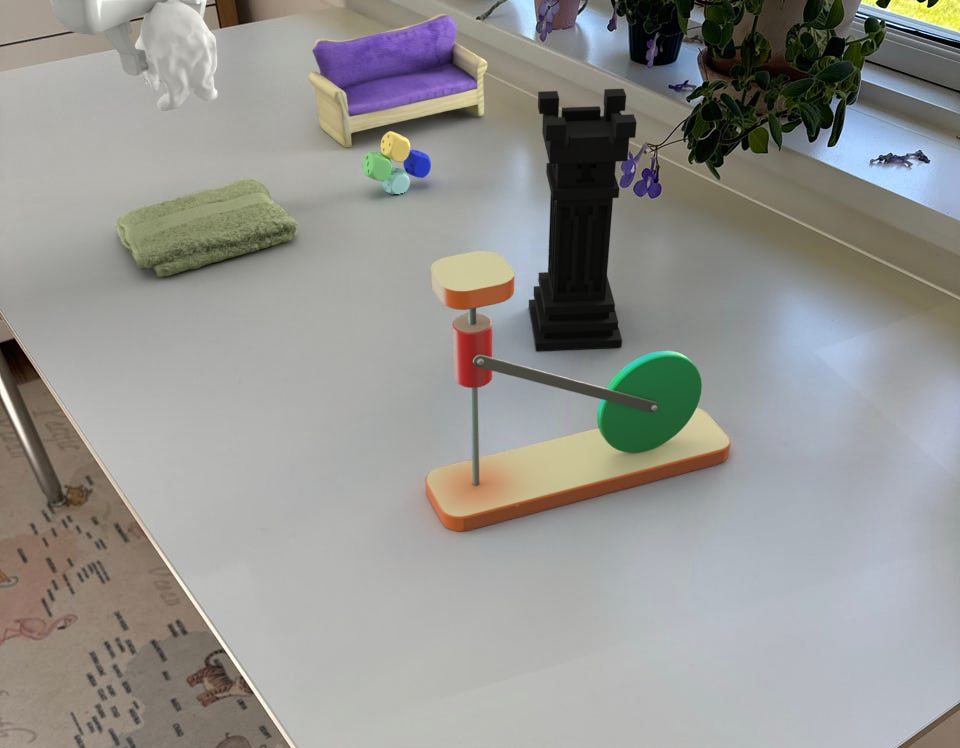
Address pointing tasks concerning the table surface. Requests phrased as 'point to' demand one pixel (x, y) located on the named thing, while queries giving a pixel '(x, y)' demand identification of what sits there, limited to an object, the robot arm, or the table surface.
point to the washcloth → (204, 227)
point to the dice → (398, 151)
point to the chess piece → (580, 223)
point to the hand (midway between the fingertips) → (165, 59)
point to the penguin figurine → (178, 53)
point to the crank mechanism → (574, 458)
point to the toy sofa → (394, 77)
